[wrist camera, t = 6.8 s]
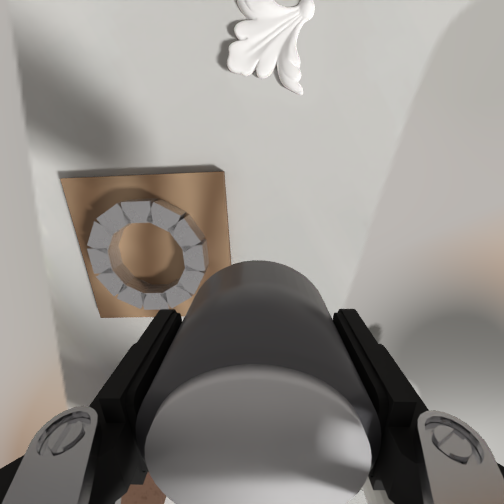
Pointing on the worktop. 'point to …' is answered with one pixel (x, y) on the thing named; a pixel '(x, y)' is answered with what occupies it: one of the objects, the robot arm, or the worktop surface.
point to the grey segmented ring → (118, 275)
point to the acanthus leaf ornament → (269, 40)
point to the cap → (258, 398)
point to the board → (151, 229)
